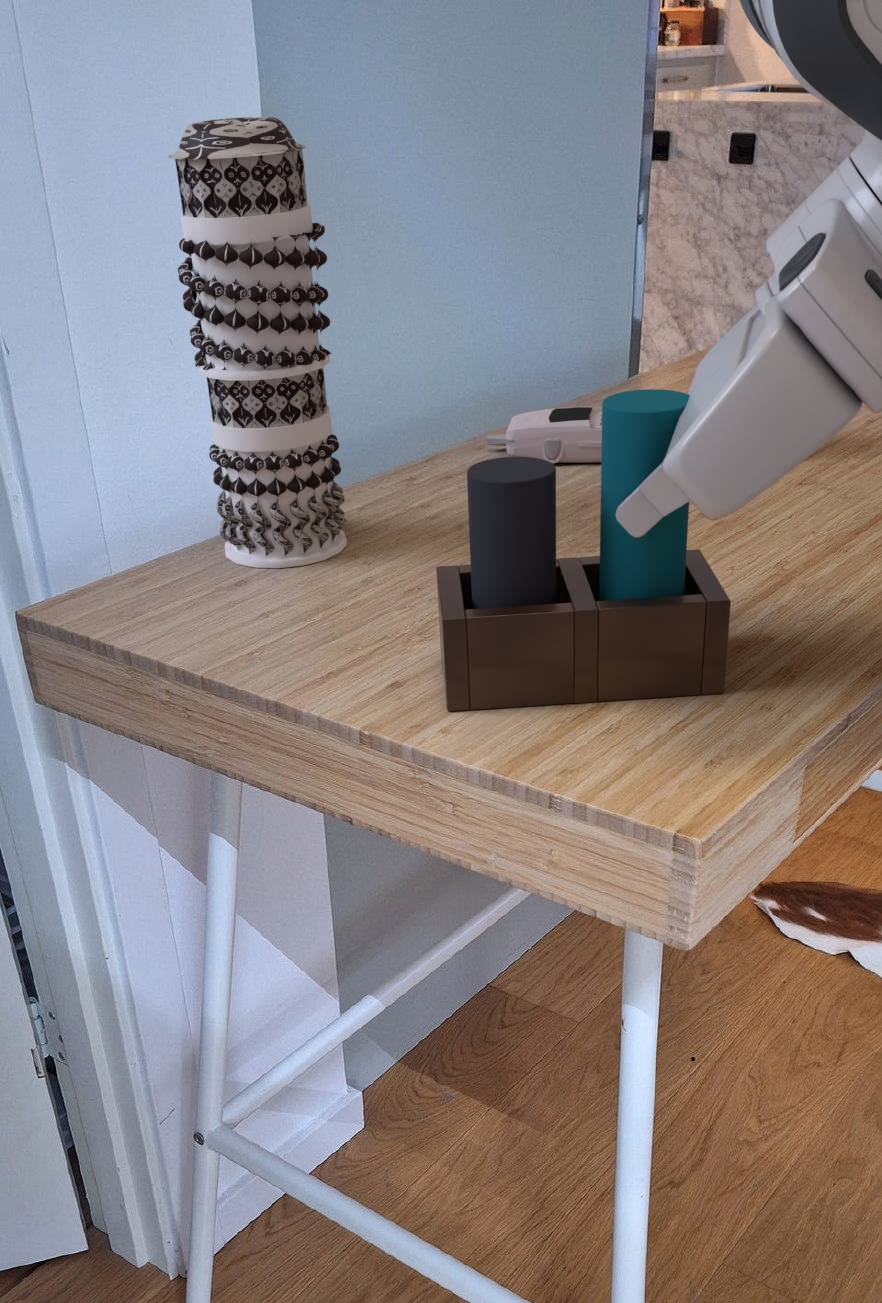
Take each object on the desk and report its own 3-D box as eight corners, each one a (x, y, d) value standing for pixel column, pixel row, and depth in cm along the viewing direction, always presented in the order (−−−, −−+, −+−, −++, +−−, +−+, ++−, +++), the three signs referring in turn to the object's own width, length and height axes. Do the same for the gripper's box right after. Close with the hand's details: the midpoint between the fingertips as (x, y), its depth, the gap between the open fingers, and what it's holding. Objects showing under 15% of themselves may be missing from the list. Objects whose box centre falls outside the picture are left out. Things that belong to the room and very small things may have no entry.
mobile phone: (816, 380, 99) (477, 386, 102) (807, 464, 102) (480, 466, 106) (809, 363, 104) (487, 369, 107) (801, 443, 107) (488, 446, 110)
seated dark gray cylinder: (551, 657, 75) (550, 453, 68) (560, 690, 71) (560, 478, 65) (472, 662, 75) (464, 459, 68) (477, 696, 71) (469, 484, 65)
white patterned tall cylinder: (371, 555, 90) (334, 117, 76) (236, 579, 88) (171, 131, 73) (332, 518, 97) (292, 110, 83) (206, 538, 95) (142, 123, 80)
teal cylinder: (674, 600, 73) (684, 386, 67) (690, 631, 69) (703, 408, 63) (593, 606, 73) (596, 392, 67) (605, 637, 69) (609, 414, 63)
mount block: (694, 636, 76) (700, 548, 73) (724, 693, 70) (731, 600, 67) (440, 652, 76) (436, 566, 73) (447, 712, 70) (442, 619, 67)
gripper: (815, 202, 67) (616, 406, 75) (808, 273, 51) (556, 524, 59) (896, 298, 69) (692, 489, 77) (914, 397, 53) (654, 625, 61)
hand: (632, 505), depth 68 cm, fingers closed on teal cylinder, 4 cm apart
